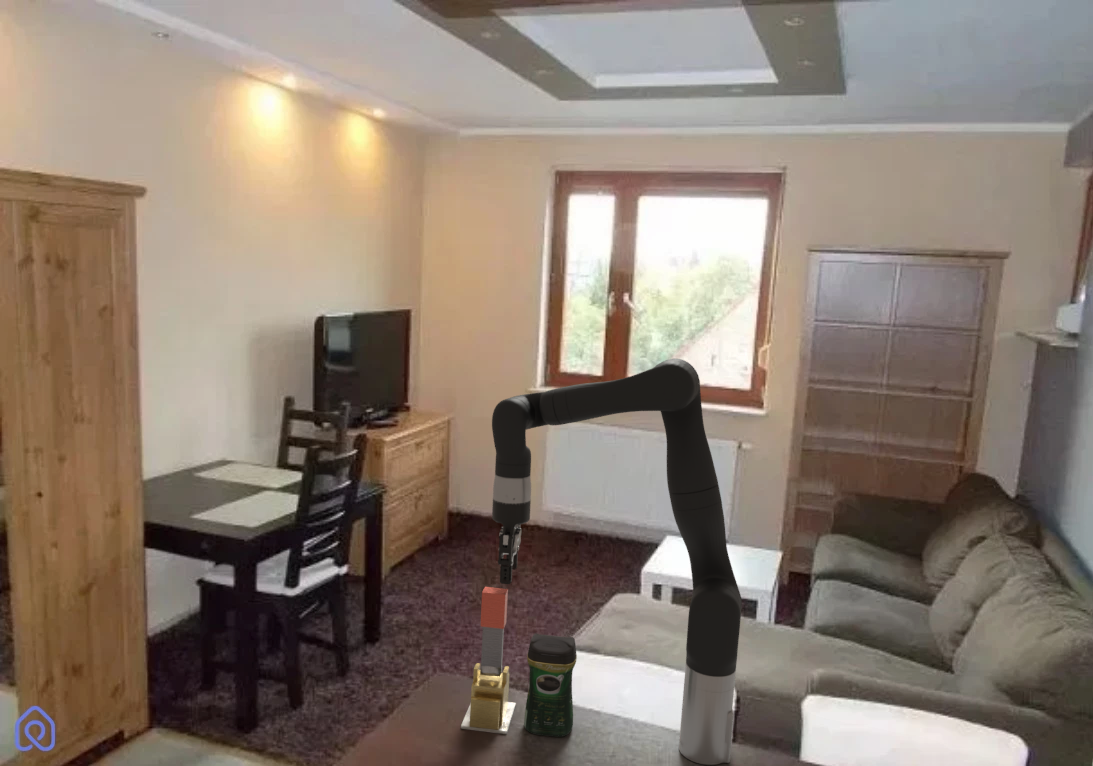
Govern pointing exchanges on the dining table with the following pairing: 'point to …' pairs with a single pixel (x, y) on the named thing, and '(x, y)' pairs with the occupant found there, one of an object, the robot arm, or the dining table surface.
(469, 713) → the gold lever base
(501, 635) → the lever
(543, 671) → the coffee jar
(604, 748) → the dining table surface
